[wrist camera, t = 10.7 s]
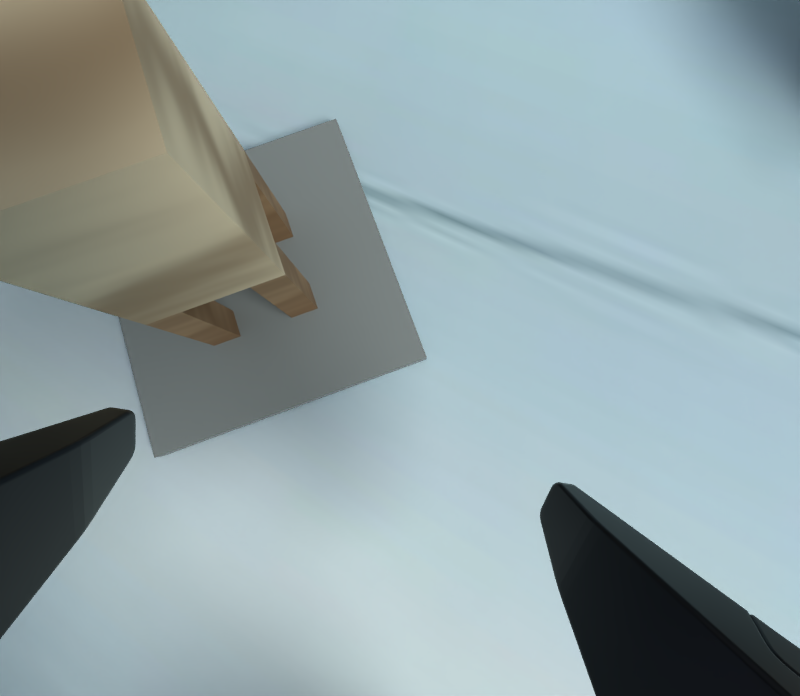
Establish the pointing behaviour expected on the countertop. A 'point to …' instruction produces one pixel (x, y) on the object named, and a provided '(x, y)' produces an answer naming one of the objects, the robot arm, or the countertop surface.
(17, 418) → the countertop surface
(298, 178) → the mat
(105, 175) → the wooden footstool
